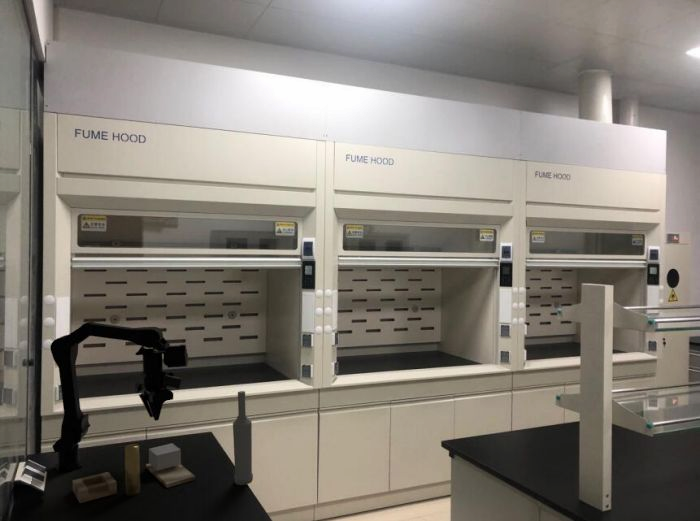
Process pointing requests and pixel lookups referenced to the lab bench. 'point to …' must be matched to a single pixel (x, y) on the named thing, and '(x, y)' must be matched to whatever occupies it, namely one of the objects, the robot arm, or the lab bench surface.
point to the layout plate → (172, 475)
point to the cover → (164, 456)
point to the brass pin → (132, 469)
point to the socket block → (94, 487)
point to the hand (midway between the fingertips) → (154, 418)
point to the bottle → (242, 444)
